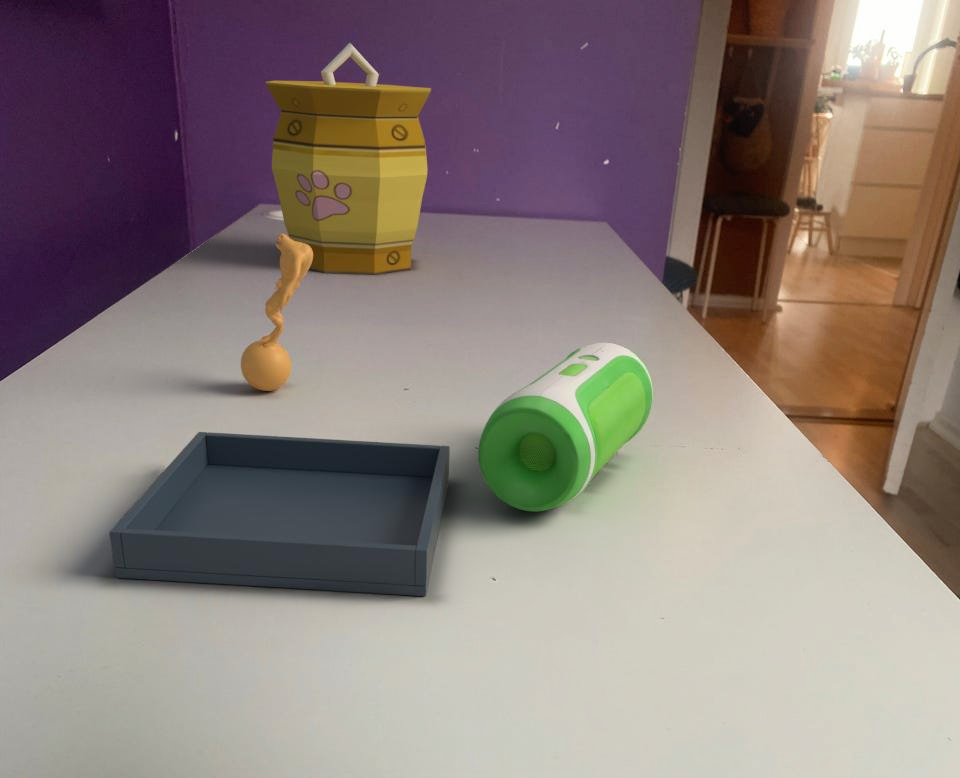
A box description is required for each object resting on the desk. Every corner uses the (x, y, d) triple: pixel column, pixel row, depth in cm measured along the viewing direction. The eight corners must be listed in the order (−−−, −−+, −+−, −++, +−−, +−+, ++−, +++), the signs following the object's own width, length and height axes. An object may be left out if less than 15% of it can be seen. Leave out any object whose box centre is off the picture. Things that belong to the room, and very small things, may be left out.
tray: (115, 578, 54) (108, 532, 52) (202, 469, 68) (198, 431, 67) (426, 596, 53) (427, 550, 52) (448, 484, 68) (449, 445, 66)
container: (253, 251, 140) (240, 37, 127) (399, 247, 148) (400, 45, 136) (297, 281, 123) (288, 39, 111) (459, 275, 132) (467, 48, 119)
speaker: (558, 430, 78) (567, 329, 75) (652, 446, 76) (666, 343, 72) (467, 509, 64) (472, 388, 60) (580, 531, 62) (592, 407, 58)
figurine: (243, 376, 87) (233, 224, 81) (315, 376, 88) (311, 226, 82) (240, 405, 80) (229, 241, 74) (319, 404, 81) (314, 243, 75)
